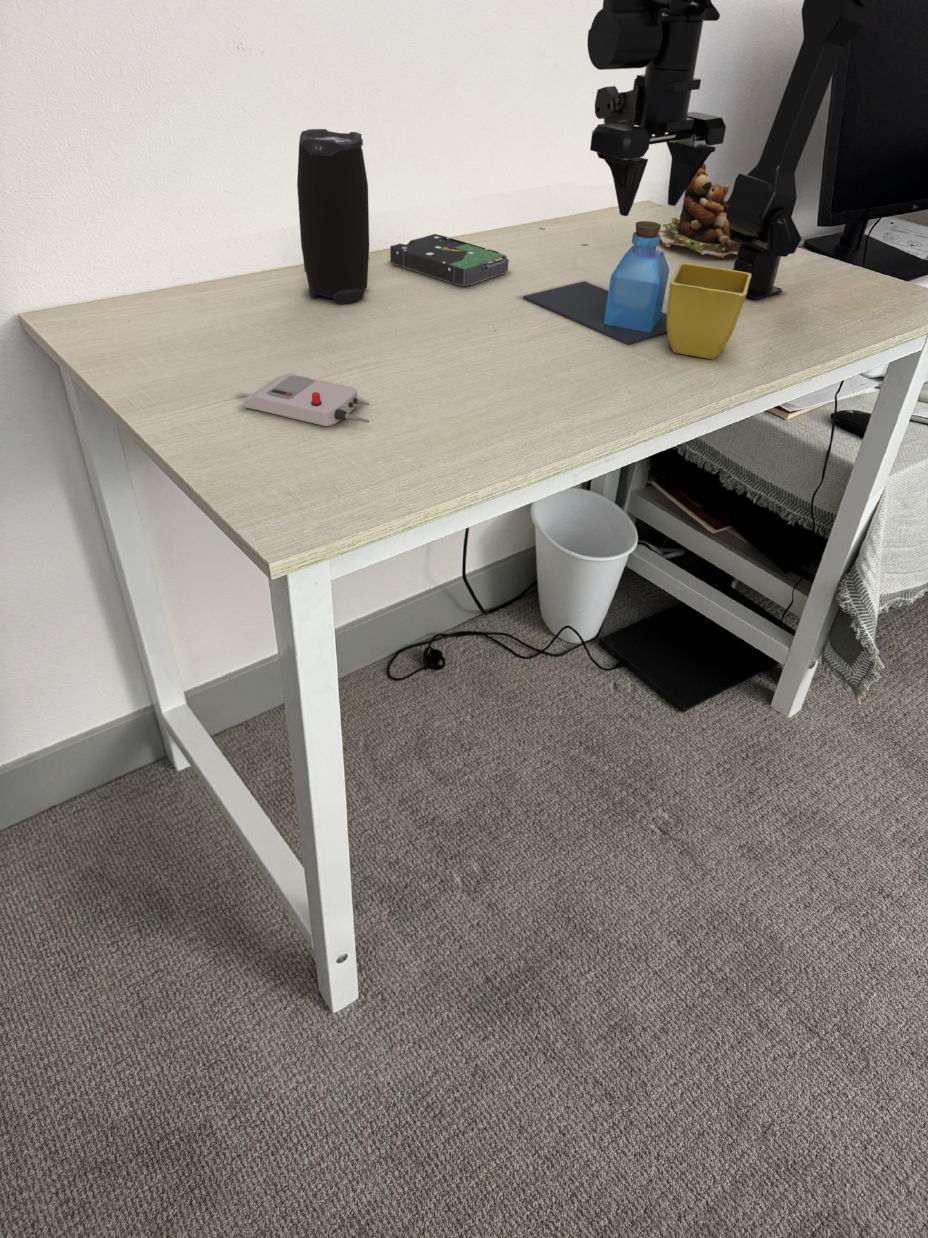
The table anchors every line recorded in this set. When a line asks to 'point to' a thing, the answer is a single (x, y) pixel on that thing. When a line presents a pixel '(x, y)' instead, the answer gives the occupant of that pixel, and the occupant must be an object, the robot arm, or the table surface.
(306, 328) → the table surface
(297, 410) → the grey electronic control box
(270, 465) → the table surface
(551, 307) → the desk mat
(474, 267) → the disk drive
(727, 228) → the bear figurine
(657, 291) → the perfume bottle
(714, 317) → the flower pot
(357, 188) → the portable speaker
